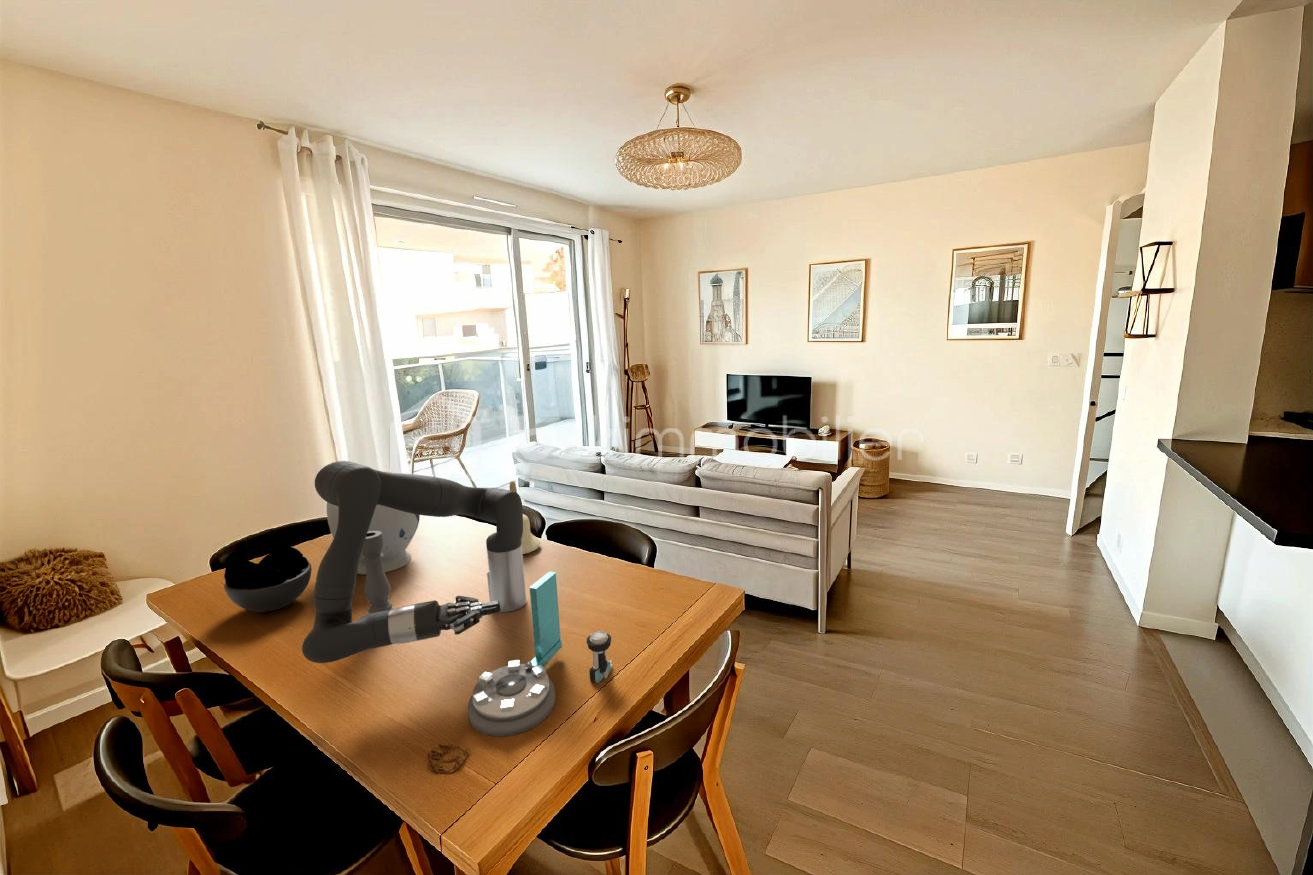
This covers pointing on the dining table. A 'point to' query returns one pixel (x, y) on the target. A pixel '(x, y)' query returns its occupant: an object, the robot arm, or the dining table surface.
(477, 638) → the dining table surface
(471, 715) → the round gray base
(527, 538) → the handbell
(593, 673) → the push button
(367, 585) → the candle holder
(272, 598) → the coal bowl
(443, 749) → the leaf
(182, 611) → the dining table surface
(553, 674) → the dining table surface
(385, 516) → the grey ceramic vase
